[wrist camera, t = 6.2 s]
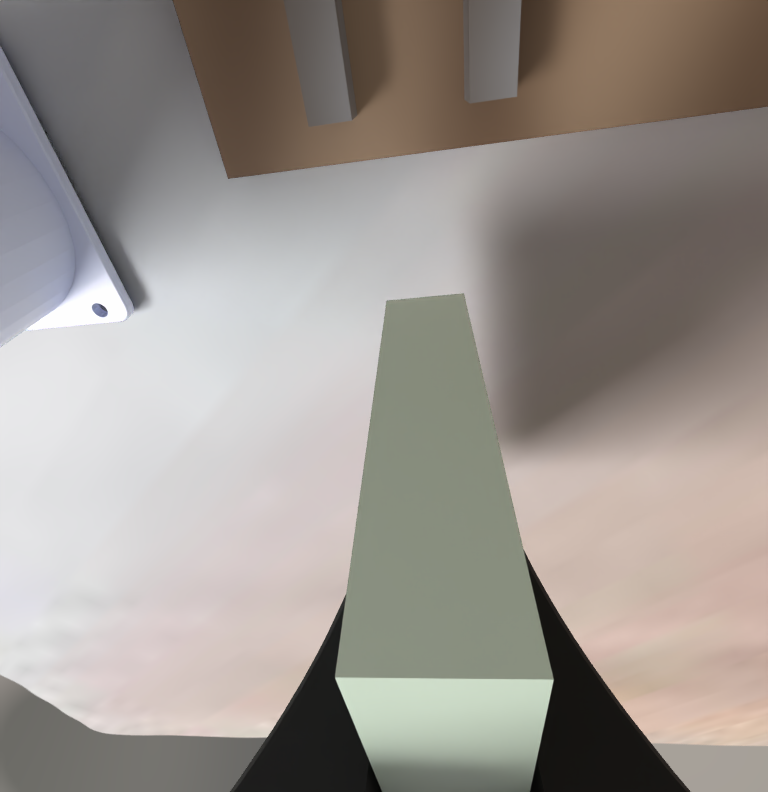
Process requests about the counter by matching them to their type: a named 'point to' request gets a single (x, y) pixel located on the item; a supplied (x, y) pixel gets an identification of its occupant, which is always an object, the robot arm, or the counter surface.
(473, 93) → the rack
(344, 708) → the robot arm
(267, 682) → the counter surface
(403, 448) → the sage green block
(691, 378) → the counter surface
